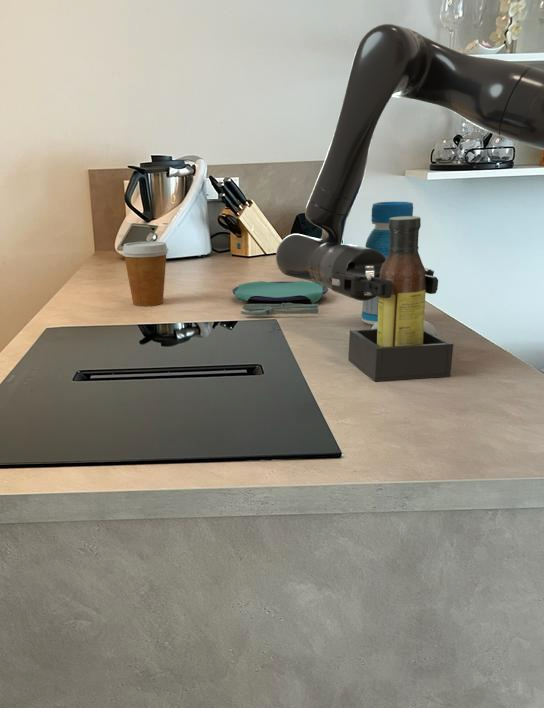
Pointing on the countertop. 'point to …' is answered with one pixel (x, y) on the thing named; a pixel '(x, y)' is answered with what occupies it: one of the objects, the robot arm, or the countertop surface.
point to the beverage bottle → (382, 243)
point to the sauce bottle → (402, 287)
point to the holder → (400, 357)
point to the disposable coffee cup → (146, 271)
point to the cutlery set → (279, 296)
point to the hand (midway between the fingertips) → (412, 288)
